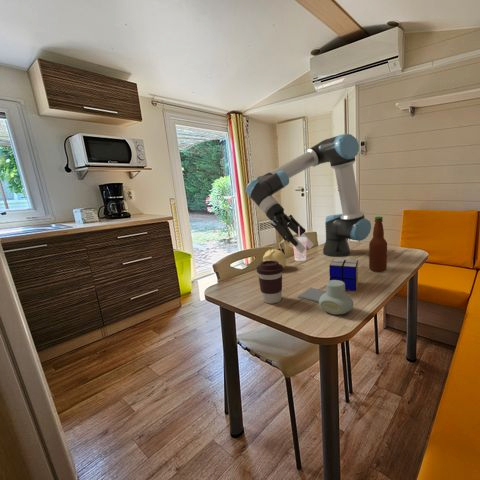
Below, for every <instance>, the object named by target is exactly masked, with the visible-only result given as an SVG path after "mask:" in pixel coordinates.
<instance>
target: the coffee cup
mask: <svg viewBox="0 0 480 480" xmlns="http://www.w3.org/2000/svg"><path fill="white" fill-rule="evenodd" d="M256 272H257V273H258V282H259V288H260V293H261V297H262V301H263V302H264V303H265V304H271V305H272V304H277V303H279V302H280V303H281V300H282V290H283V274H282V273H283V272H284V268H283V266H282V265H281V264H279V263H278V262H277V261H271V260H270V261H264V262H263V261H262V262H260V264H259V265H258V266H257V267H256Z"/></svg>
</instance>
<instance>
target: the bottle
mask: <svg viewBox="0 0 480 480" xmlns="http://www.w3.org/2000/svg"><path fill="white" fill-rule="evenodd" d="M383 218H384V217H382V216H375V217H374V226H373V231H372V238H371V240H370V241H369V246H368V248H369V249H368V269H369V270H370V271H372V272H375V273H376V272H377V273H381V272H382V273H383V272H386V270H387V269H388V268H387V266H388V264H387V263H388V260H387V259H388V241H386V239H385V235H384V234H385V232H384V231H385V230H384V224H383V221H384V220H383Z"/></svg>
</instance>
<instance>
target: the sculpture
mask: <svg viewBox="0 0 480 480" xmlns="http://www.w3.org/2000/svg"><path fill="white" fill-rule="evenodd" d="M270 260H271V261H277V262H278V263H279V264H281V265H282V266H283V269H285V267H286V265H287V258H286V254H285V253H284V252H283V251H281V250H279V249H276V248H272V249H268V250H266V252H265V253H264V255H263V256H262V262H264V261H270Z"/></svg>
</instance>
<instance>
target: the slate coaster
mask: <svg viewBox="0 0 480 480" xmlns="http://www.w3.org/2000/svg"><path fill="white" fill-rule="evenodd" d="M324 293H326V290H324V289H320V288H314V287H309V288H308V289H306V290H305V291H303V292H302V293H300V294H298V295H297V298H298V299H301V300H306V301H310V302H312V303H313V302H314V303H317V304H319V299H320V297H321V296H322V295H323V294H324Z"/></svg>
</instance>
